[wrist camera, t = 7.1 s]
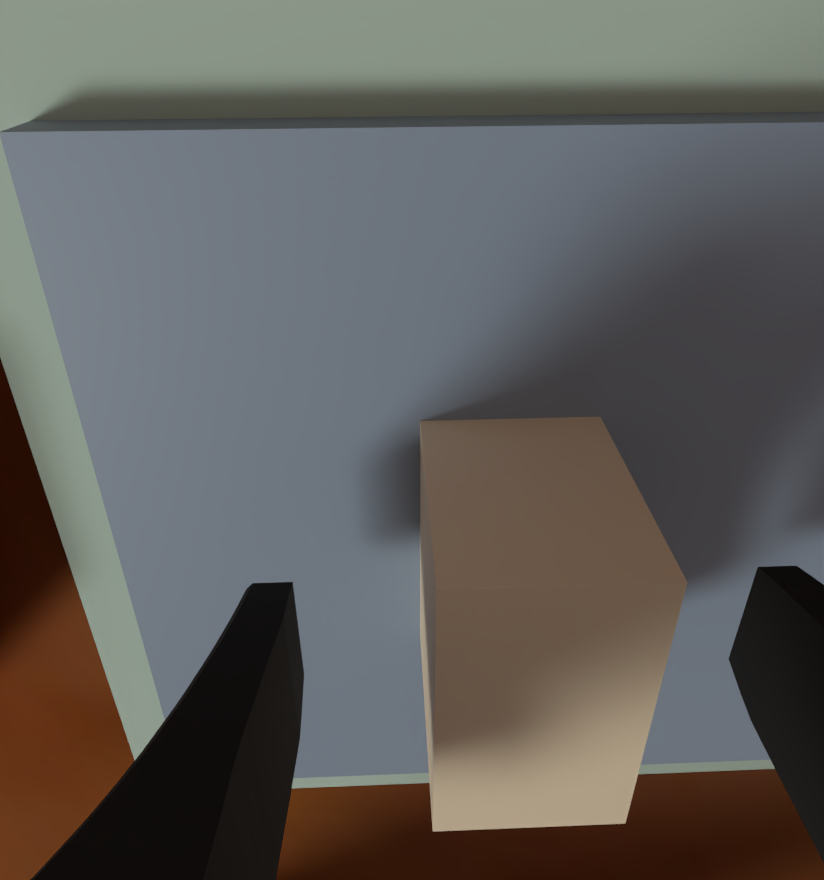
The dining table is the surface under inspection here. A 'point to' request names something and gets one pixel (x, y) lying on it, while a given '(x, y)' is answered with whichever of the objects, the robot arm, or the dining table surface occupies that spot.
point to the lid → (453, 420)
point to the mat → (336, 95)
